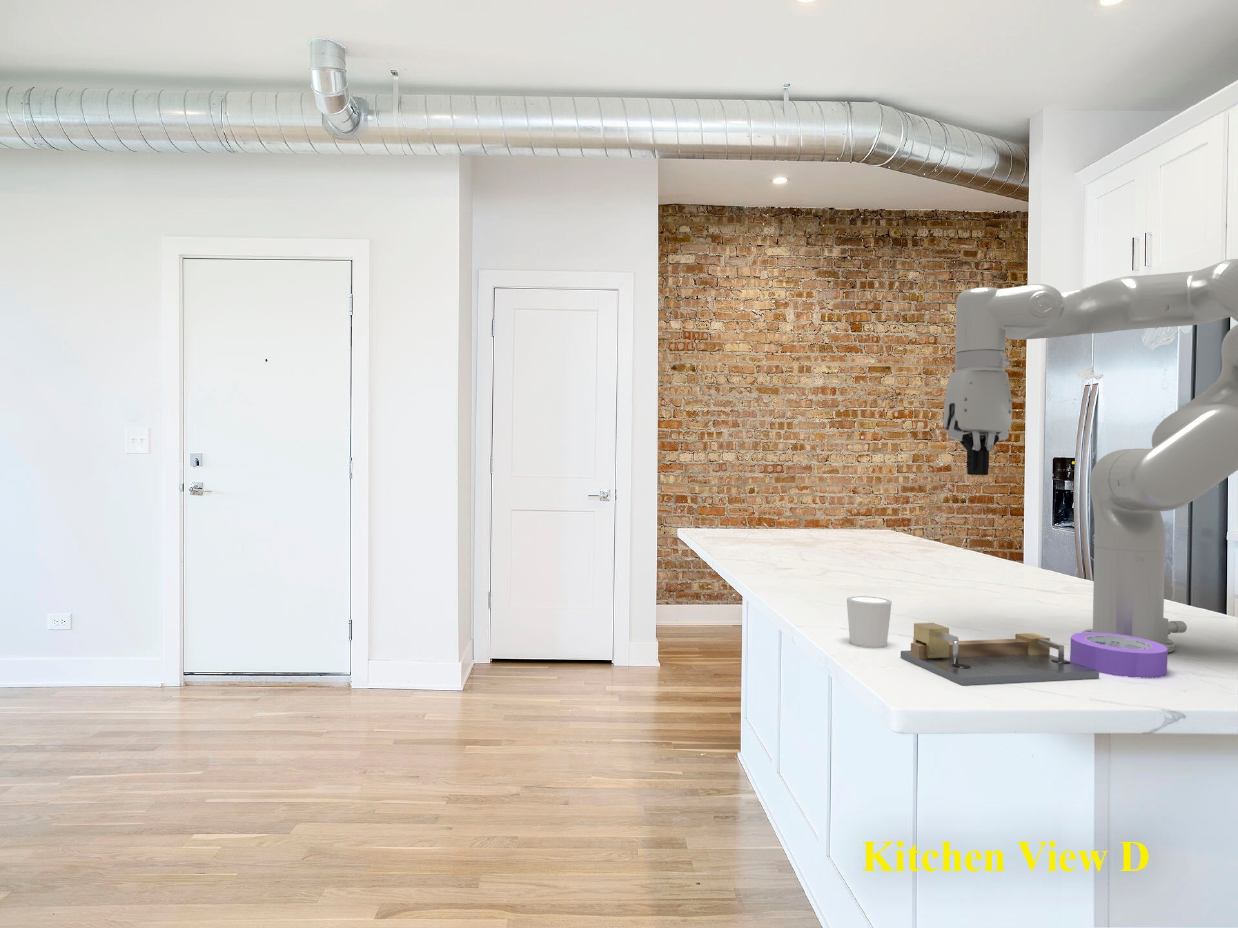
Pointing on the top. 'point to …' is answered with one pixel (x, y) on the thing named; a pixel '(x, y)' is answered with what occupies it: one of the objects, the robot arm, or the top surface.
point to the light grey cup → (868, 621)
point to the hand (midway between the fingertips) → (977, 474)
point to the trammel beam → (998, 647)
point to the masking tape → (1119, 654)
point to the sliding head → (936, 640)
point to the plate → (1004, 668)
